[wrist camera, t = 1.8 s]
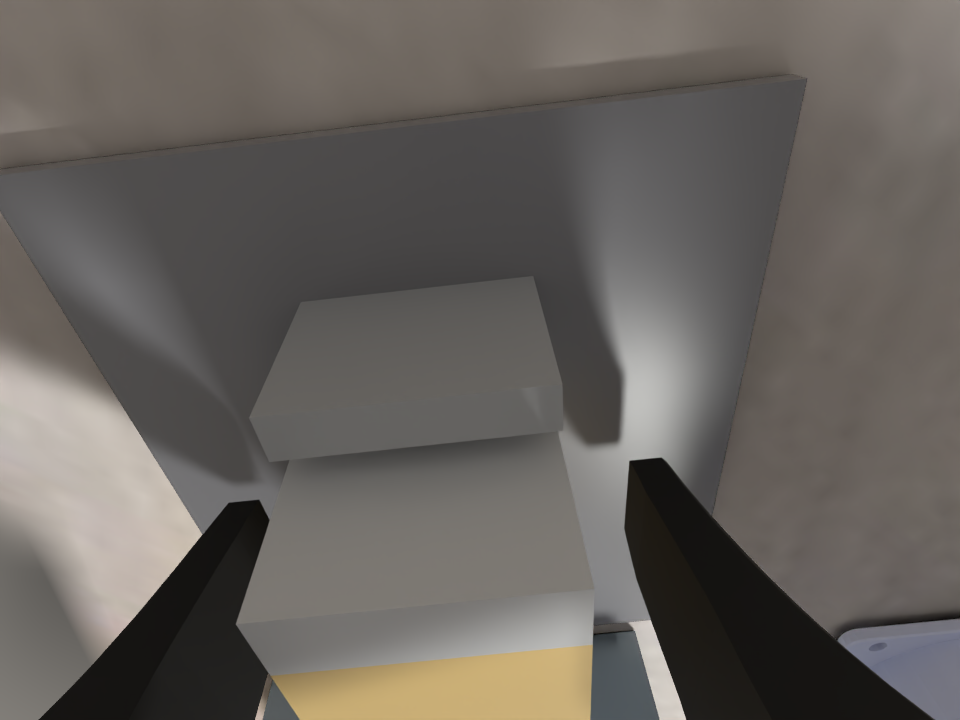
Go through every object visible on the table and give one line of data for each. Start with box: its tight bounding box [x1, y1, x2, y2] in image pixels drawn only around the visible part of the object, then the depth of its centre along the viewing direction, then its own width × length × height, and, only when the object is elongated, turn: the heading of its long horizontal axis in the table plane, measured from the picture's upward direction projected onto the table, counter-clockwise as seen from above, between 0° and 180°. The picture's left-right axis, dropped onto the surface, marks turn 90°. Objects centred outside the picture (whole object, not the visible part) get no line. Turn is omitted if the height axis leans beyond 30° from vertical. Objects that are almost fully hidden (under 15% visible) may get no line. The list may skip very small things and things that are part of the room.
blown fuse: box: [236, 432, 594, 720], centre depth 10 cm, size 4×6×5 cm, turn 6°
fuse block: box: [0, 74, 807, 625], centre depth 11 cm, size 12×14×3 cm
